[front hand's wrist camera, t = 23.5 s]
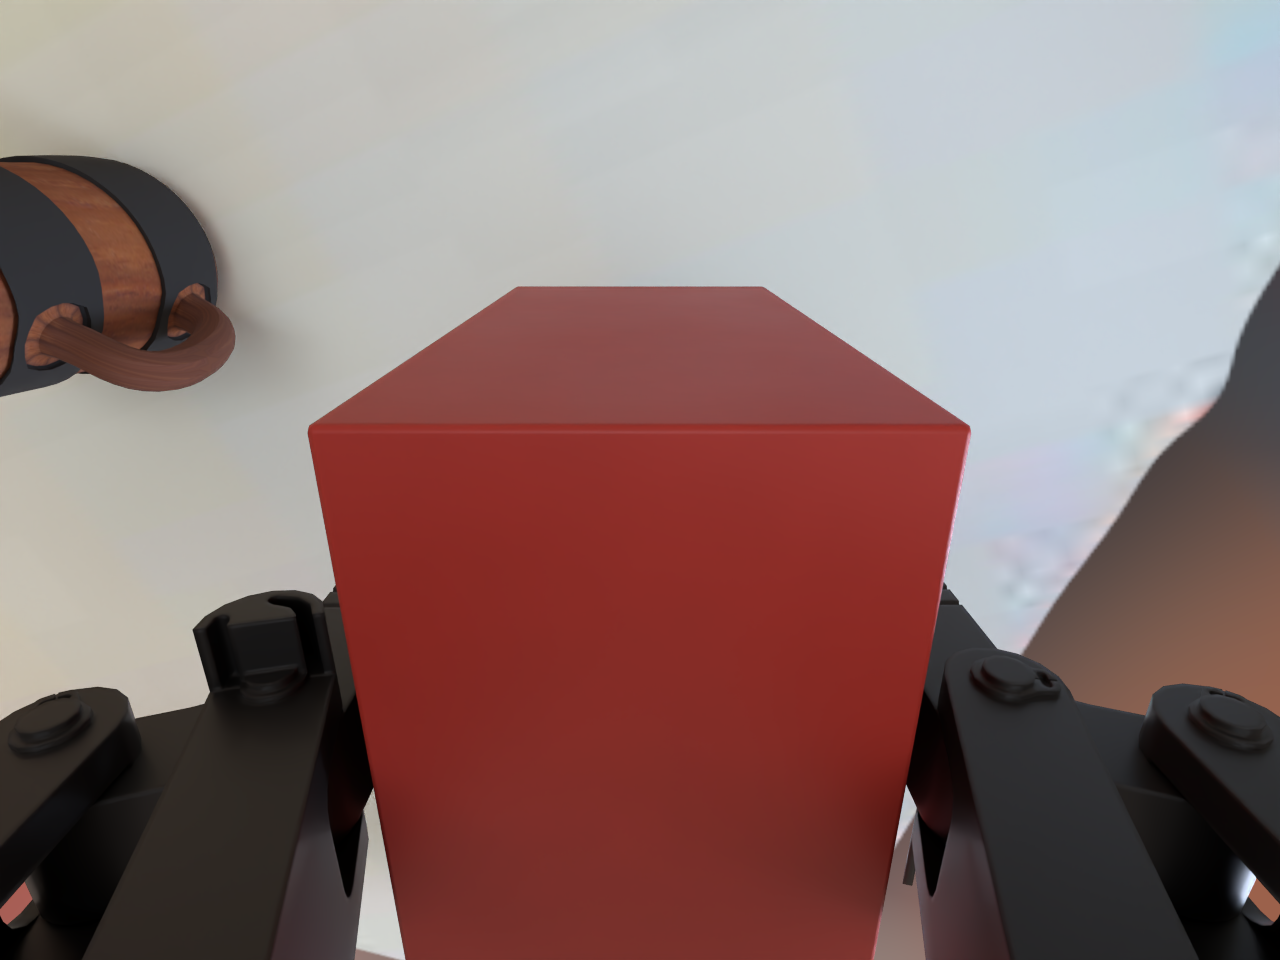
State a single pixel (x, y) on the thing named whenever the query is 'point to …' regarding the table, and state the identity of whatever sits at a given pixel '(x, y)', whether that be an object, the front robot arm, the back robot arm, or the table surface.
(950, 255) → the table surface
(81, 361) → the mug
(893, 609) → the brick
